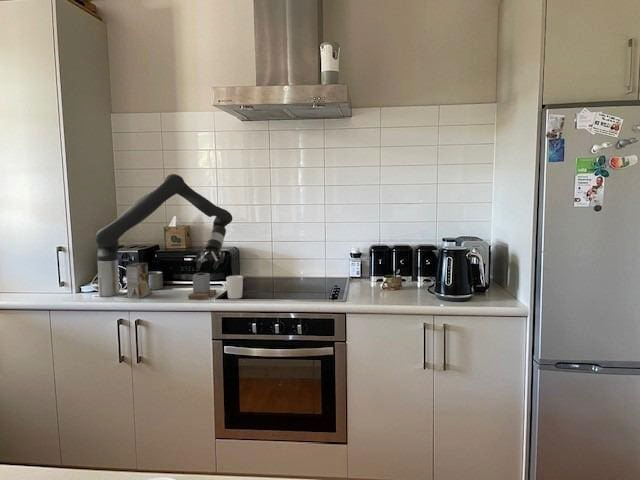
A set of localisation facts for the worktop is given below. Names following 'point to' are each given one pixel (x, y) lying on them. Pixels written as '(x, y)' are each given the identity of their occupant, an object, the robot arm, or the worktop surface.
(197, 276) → the socket
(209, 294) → the post block
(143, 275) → the coffee box
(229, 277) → the white cup
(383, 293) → the worktop surface
